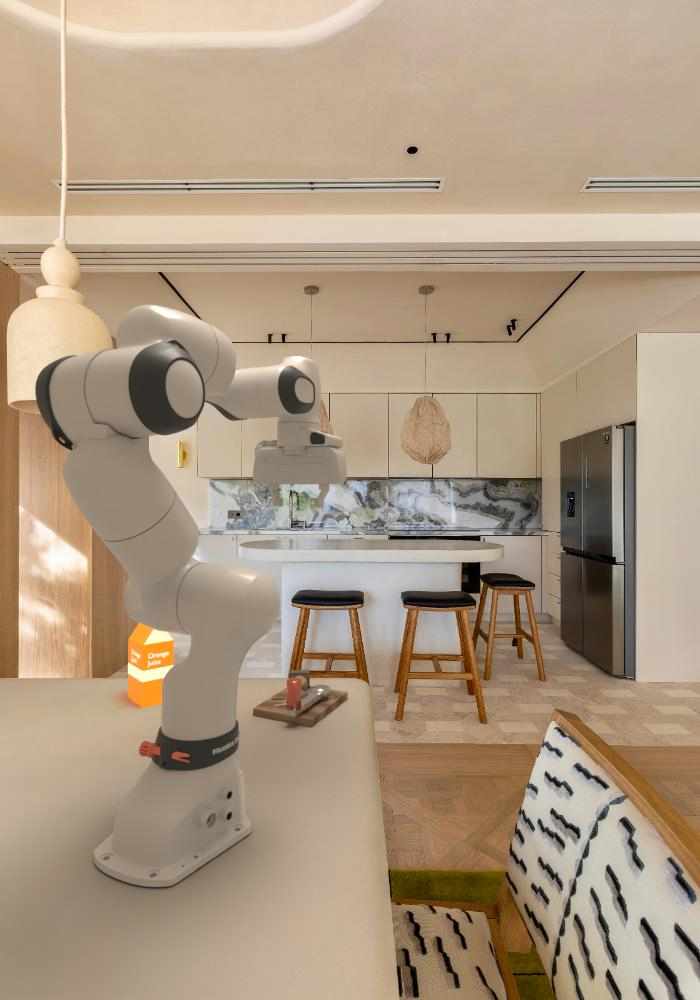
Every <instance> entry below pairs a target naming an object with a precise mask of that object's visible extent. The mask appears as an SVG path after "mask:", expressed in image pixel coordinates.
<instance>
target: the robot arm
mask: <svg viewBox="0 0 700 1000" xmlns="http://www.w3.org/2000/svg"><path fill="white" fill-rule="evenodd" d="M115 344H116V345H115V346H116V348H104V349H99V350H94V351H88V352H84V353H81V354H71V355H69V354H68V355H65V356H63V357H60V358H58V359H56V360H54V361H52V362H50V363H48V364H47V365H46V366H44V368H42V369H41V370H40V372H39V374H38V376H37V378H36V381H35V385H34V386H35V387H34V393H35V400H36V405H37V407H38V410H39V413H40V415H41V418H42V420H43V421H44V423H45V425H46V426H47V427H48V428H49V429H50V432H51V436H52V437H53V439H54V441H55V442H57V443H58V444H59V445H61V446H62V447H64V448H65V449H67V450H69V451H68V454H67V455H66V457H65V459H64V461H63V465H62V477H63V480H64V483H65V485H66V487H67V490H68V492H69V494H70V496H71V497H72V499H73V501H74V503H75V504H76V506H77V508H78V510H80V513H81V514H82V516H83V518H84V519H85V520H86V521H87V523H88V525H89V526H90V527H91V528H92V530H93V531H94V532H95V534H96V535H97V536H98V538H100V540H101V541H102V542H103V543H104V544H105V546H106V547H107V549H108V550H110V552H111V553H112V554H113V556H114V557H115V558H116V560H117V561H118V563H119V564H120V565H121V566H122V567H123V568H124V570H125V572H126V573H127V575H128V577H129V578H128V579H127V582H126V584H125V587H124V590H123V591H124V592H123V604H124V608H125V611H126V613H127V615H128V616H129V618H130V619H131V620H133V622H136V623H137V624H139V623H140V624H142V625H145V626H147V627H150V628H152V629H155V630H158V631H163V632H168V633H173V634H180V635H186V636H190V647H189V651H188V655H187V657H186V658H184V659H182V660H180V661H178V662H177V663H176V664H173V667H172V668H171V669H170V670H169V671H168V672H167V673H166V675H165V677H164V679H163V682H162V703H161V707H160V708H161V715H160V721H161V722H160V727H159V729H158V731H157V735H156V736H155V737H156V738H155V741H154V742H151V741H148V740H143V741H142V742H141V743H140V745H139V747H138V755H140V756H141V757H148V758H149V759H151V761H150V762H149V763H148V765H147V766H146V767H145V769H144V770H143V772H142V774H141V775H140V776H139V778H138V779H137V781H136V782H135V783H134V785H132V788H131V789H130V791H129V792H128V793H127V795H126V796H125V797H124V799H123V800H122V802H121V803H120V804H119V806H118V807H117V810H116V813H115V816H114V821H113V828H112V829H113V830H112V833H111V834H110V835H108V836H107V837H106V838H105V839H104V840H103V841H102V842H101V843H100V844H99V845H98V846H96V848H95V849H94V850H93V855H92V859H93V863H94V864H95V866H96V867H97V868H98V869H99V870H100V871H101V872H103V873H104V874H106V875H107V876H110V877H112V878H115V879H116V880H119V881H122V882H125V883H128V884H131V885H136V886H139V887H141V886H142V887H148V888H149V887H150V888H162V887H163V888H164V887H172V886H174V885H175V884H177V883H179V882H180V881H182V880H183V879H185V878H186V877H187V876H189V875H191V874H192V873H194V872H195V871H196V870H199V868H201V867H203V866H205V864H207V863H209V862H210V861H212V860H213V859H214V858H216V857H218V856H219V855H221V854H222V853H224V852H225V851H227V849H230V848H231V847H232V846H234V845H235V844H236V843H239V842H240V841H241V840H242V839H244V838H245V837H247V836H248V835H250V834H251V833H252V831H253V828H252V822H251V820H250V818H249V816H248V815H247V806H246V797H245V796H246V795H245V794H246V793H245V784H244V783H245V782H244V773H243V769H242V768H241V767H242V766H241V764H240V761H239V758H238V752H237V751H238V749H239V746H240V736H241V735H240V729H239V728H240V727H239V721H238V719H237V699H238V686H239V676H240V672H241V668H242V665H243V662H244V660H245V658H246V656H247V654H248V652H249V651H250V649H251V648H252V646H254V644H255V643H256V642H257V641H259V640H260V639H261V638H263V637H265V635H266V634H268V633H269V632H270V631H271V629H272V627H274V625H275V624H276V622H277V620H278V617H279V613H280V608H281V595H280V591H279V588H278V585H277V584H276V582H275V580H274V579H273V577H272V576H271V575H270V574H268V573H265V572H263V571H260V570H257V569H254V568H251V567H248V566H247V567H246V566H244V565H240V564H239V565H238V564H237V565H236V564H225V563H223V564H221V563H210V562H209V563H208V562H203V561H201V560H198V559H196V558H194V554H195V553H196V550H197V547H198V544H199V539H200V531H199V527H198V523H196V521H195V519H194V518H193V516H192V514H191V513H190V511H189V510H188V509H187V507H186V505H185V504H184V502H183V500H182V499H181V497H180V496H179V494H178V493H177V491H176V490H175V488H174V487H173V485H172V484H171V482H170V481H169V479H168V478H167V476H166V475H165V474H164V473H163V471H162V470H161V468H159V466H158V465H157V464H156V463H155V461H154V460H153V458H152V455H151V452H150V448H149V444H148V443H149V441H148V437H151V436H157V435H158V436H170V435H175V434H178V433H181V432H183V431H186V430H189V429H191V428H192V427H194V426H195V424H196V423H197V422H198V420H199V419H200V415H201V414H202V412H203V409H204V407H205V403H206V404H209V405H211V407H213V408H215V409H216V410H217V411H218V412H219V413H220V414H221V415H222V416H223V417H224V418H225V419H227V420H229V421H232V422H236V421H245V420H248V419H249V420H250V419H269V418H278V419H277V424H276V425H277V429H276V434H277V435H276V438H277V439H271V440H270V439H269V440H261V441H260V442H259V443H258V444H256V446H255V447H254V461H253V467H252V468H253V469H252V479H253V481H254V483H255V484H256V485H267V490H268V492H269V494H270V496H271V498H272V506H273V507H283V506H284V497H280V495H279V493H278V490H280V485H318V491H320V492H319V494H318V496H317V497H316V498H313V508H325V498H326V497H327V495H328V493H329V491H330V485H344V484H345V482H346V480H347V475H348V474H347V470H348V469H347V460H346V454H345V453H344V451H343V450H342V447H343V446H344V440H343V438H342V437H340V436H338V435H334V434H331V433H329V432H327V431H323V430H321V429H322V426H321V423H322V422H321V419H320V408H321V405H322V388H321V387H322V386H321V377H320V376H321V375H320V370H319V366H318V363H317V362H316V361H314V360H313V359H311V358H310V357H306V356H301V355H289V356H287V357H284V358H283V359H281V363H279V364H275V365H267V366H260V367H257V366H256V367H249V368H238V367H237V364H238V360H237V359H238V358H237V354H236V349H235V346H234V344H233V342H232V341H231V339H230V338H229V337H228V336H227V335H226V334H225V333H224V332H223V331H222V330H220V329H219V328H217V327H216V326H213V325H212V324H210V323H208V322H206V321H204V320H202V319H200V318H198V317H195V316H193V315H191V314H189V313H186V312H183V311H180V310H178V309H175V308H171V307H166V306H162V305H158V304H157V305H156V304H142V305H138V306H135V307H133V308H131V310H129V311H128V312H127V313H126V314H125V315H124V316H123V317H122V318H121V320H120V322H119V324H118V327H117V331H116V334H115Z"/></svg>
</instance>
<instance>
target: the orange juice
mask: <svg viewBox="0 0 700 1000" xmlns="http://www.w3.org/2000/svg"><path fill="white" fill-rule="evenodd" d="M174 641H175V640H174V639H173V637H172V636H171V634H170V632H163V631H158V630H155V629H152V628H150V627H147V626H145V625H142V624H140V623H137V625H136V627H135V628H134V630H133V632H132V633H131V635H130V637H128V654H127V655H128V656H127V657H128V658H127V660H128V661H127V662H128V663H127V698H128V697H129V698H130V699H131V700H132V701H131V700H130V699H129V698H128V699H129V700H130V701H131V702H133V701H134V702H135V703H134V702H133V703H134V704H136V705H137V704H138V705H139V707H140V708H141V709H144V708H148V707H151V706H156V705H160V704H161V705H162V682H163V679H164V677H165V675H166V673H167V672H168V671H169V670H170V669H171V668H172V667H173V666H174V648H175V647H174V645H175V644H174V643H175V642H174ZM138 705H137V706H138Z"/></svg>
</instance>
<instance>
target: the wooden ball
mask: <svg viewBox="0 0 700 1000" xmlns="http://www.w3.org/2000/svg"><path fill="white" fill-rule="evenodd" d="M295 678H299V679H301V680H302V688H301V690H302V691H305V690H306V688H307V686H308V682H307V680H306V678H305V677H303V676H296V677H295Z"/></svg>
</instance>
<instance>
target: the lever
mask: <svg viewBox="0 0 700 1000" xmlns="http://www.w3.org/2000/svg"><path fill="white" fill-rule="evenodd" d="M311 686H312V685H311ZM286 688H287V697H286V709H285V715H288V716H293V717H296V716H297V715H299V714H300V713H301V712H303V711H304V710H305V709H307V708H308V707H310V706H311V705H312V704H314V703H315V702H317V701H318V700H319V699H321V698H325V697H328V696H329V695H330V689H331V688H330V686H329V685H326V684H316V685H313V686H312V687H311V693H309V692H308V691H302V690H301V688H302V680H301V679H299V678H290V677H289V678H287V679H286Z"/></svg>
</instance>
